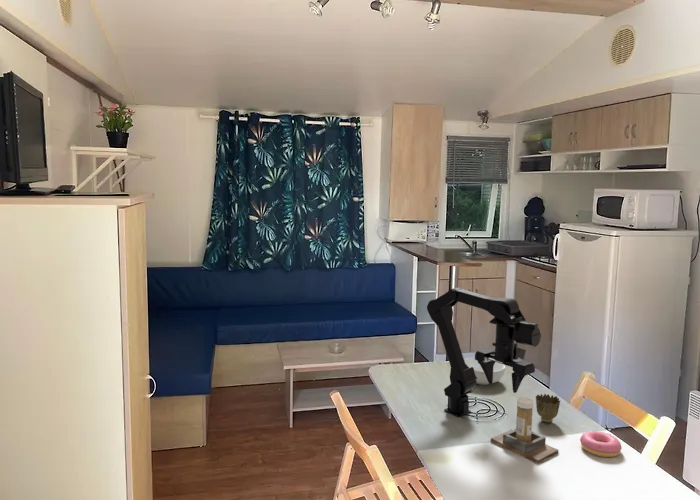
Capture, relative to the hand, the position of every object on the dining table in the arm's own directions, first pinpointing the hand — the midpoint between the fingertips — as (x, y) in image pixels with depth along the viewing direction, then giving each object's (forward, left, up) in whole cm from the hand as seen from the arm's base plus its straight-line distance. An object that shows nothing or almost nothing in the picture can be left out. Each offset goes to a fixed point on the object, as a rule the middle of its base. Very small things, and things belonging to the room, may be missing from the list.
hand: (502, 388), depth 168 cm
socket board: (+12, -5, -13) cm, 18 cm away
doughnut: (+26, +12, -13) cm, 32 cm away
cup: (+6, +16, -13) cm, 22 cm away
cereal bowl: (-30, +28, -13) cm, 43 cm away
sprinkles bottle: (+12, -5, -12) cm, 18 cm away
